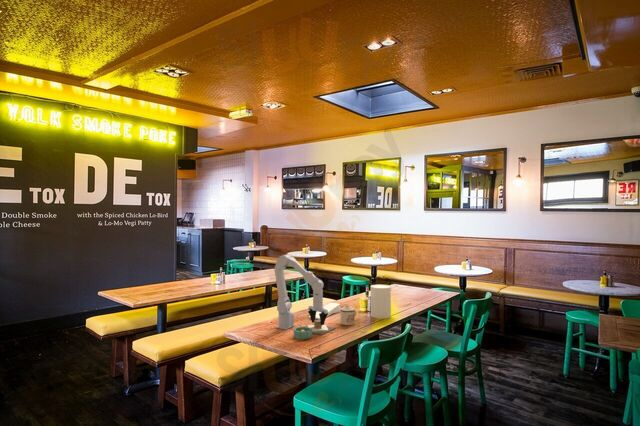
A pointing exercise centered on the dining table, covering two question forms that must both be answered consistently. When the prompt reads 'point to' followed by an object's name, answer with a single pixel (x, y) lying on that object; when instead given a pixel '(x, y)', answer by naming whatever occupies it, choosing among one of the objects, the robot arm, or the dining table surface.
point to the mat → (324, 331)
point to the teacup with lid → (347, 315)
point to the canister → (380, 301)
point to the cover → (318, 326)
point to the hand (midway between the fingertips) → (317, 323)
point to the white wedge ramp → (330, 309)
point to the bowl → (302, 332)
